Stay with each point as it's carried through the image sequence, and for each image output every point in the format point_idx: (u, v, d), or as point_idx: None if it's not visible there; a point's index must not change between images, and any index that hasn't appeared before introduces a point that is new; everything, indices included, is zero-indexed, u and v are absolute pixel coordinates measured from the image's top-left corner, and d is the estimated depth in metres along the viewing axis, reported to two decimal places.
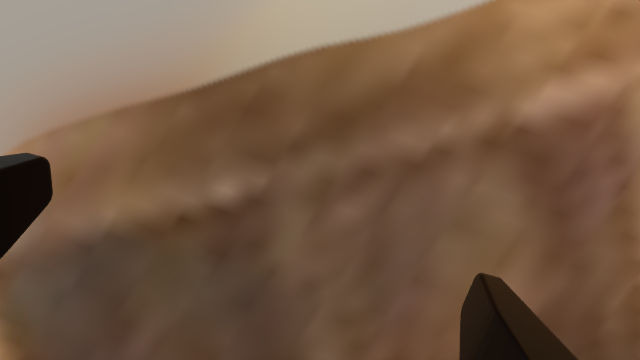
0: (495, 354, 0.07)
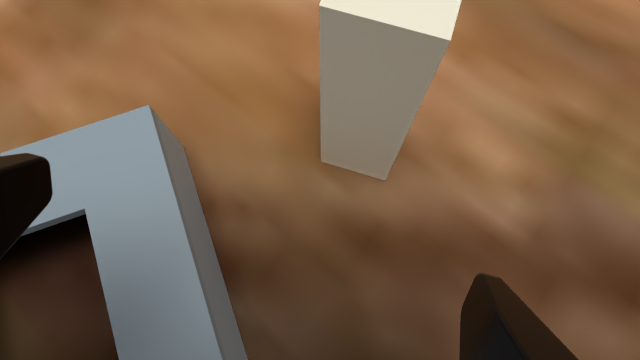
0: (495, 354, 0.07)
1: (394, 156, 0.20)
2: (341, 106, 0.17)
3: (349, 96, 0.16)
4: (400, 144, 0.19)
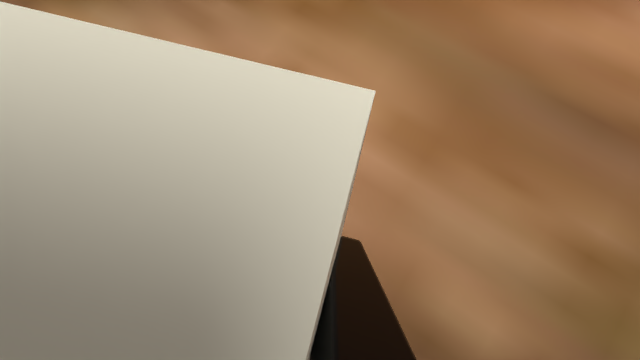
0: (324, 307, 0.07)
1: None
2: None
3: None
4: None
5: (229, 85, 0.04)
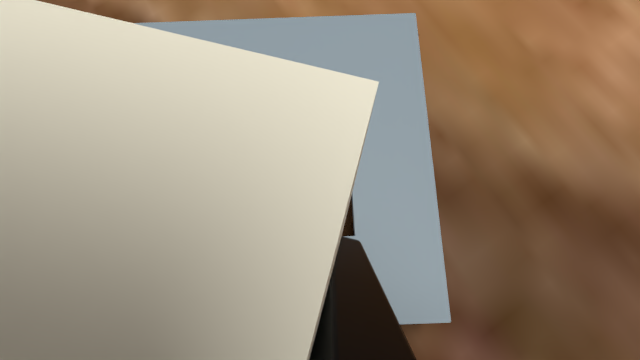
0: (324, 307, 0.07)
1: None
2: None
3: None
4: None
5: (230, 76, 0.04)
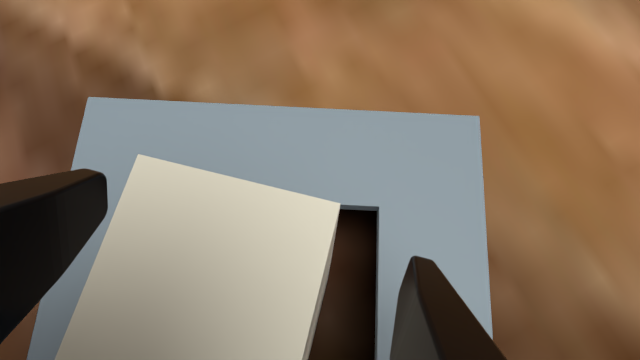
0: (413, 331, 0.07)
1: None
2: None
3: None
4: None
5: (270, 201, 0.07)
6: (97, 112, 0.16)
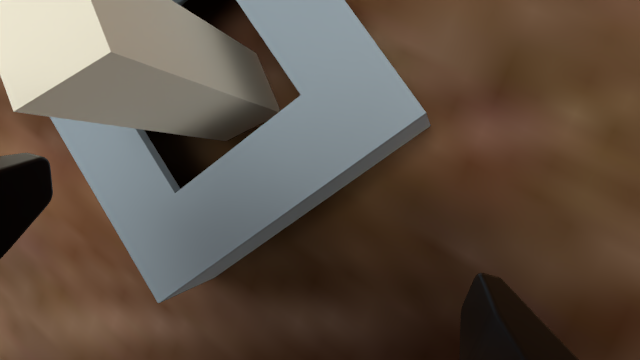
0: (495, 354, 0.07)
1: (250, 103, 0.20)
2: (158, 120, 0.18)
3: (148, 114, 0.17)
4: (236, 98, 0.19)
5: None
6: None
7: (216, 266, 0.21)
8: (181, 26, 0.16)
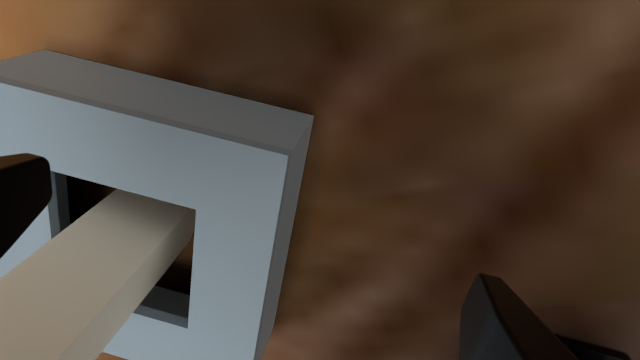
0: (495, 354, 0.07)
1: (174, 228, 0.22)
2: (125, 313, 0.20)
3: (113, 325, 0.19)
4: (158, 245, 0.20)
5: None
6: None
7: (261, 341, 0.24)
8: (70, 255, 0.18)
